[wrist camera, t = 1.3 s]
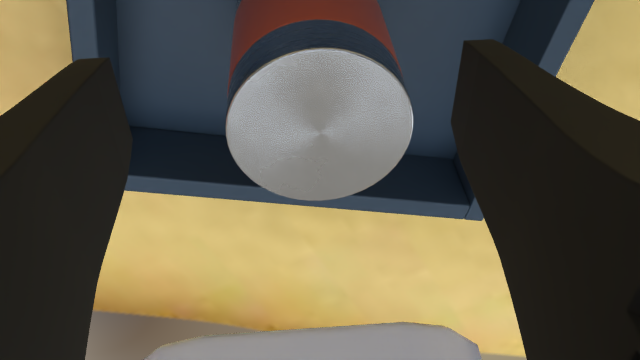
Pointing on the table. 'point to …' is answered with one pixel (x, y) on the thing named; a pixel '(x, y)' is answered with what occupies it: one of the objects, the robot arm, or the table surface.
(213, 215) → the table surface
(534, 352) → the robot arm
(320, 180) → the tin can
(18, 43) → the table surface
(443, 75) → the tub
